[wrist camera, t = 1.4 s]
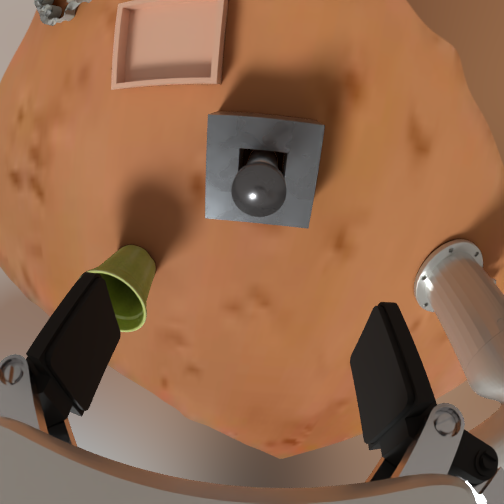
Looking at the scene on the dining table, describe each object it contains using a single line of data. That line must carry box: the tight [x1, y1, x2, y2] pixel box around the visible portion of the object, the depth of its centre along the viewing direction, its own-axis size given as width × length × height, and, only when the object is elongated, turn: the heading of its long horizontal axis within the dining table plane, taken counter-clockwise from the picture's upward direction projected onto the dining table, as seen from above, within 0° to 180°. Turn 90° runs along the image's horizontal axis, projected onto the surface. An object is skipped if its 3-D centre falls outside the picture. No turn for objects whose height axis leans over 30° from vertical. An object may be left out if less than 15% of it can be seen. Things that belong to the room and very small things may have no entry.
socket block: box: [205, 111, 325, 228], centre depth 27 cm, size 10×10×5 cm
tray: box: [111, 0, 229, 90], centre depth 22 cm, size 11×10×2 cm
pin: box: [231, 149, 286, 217], centre depth 25 cm, size 4×4×10 cm
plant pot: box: [80, 245, 156, 332], centre depth 34 cm, size 9×9×9 cm
